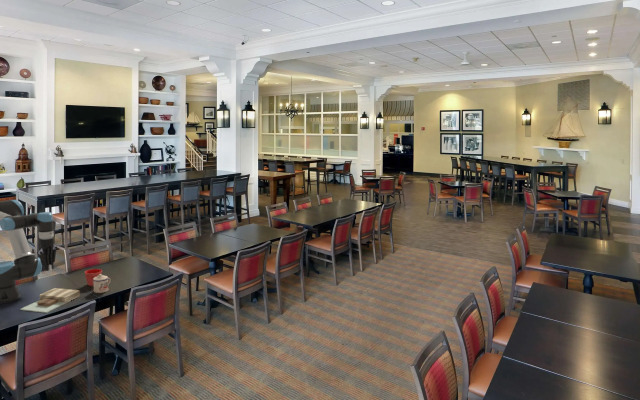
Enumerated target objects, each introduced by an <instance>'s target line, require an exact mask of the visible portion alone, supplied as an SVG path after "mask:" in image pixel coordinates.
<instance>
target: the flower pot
mask: <svg viewBox="0 0 640 400" xmlns="http://www.w3.org/2000/svg"><path fill="white" fill-rule="evenodd" d="M99 274H102V275H103V270H102V269H100V268H91V269H88V270H85V271H84V276H85V280H86V283H87V285H88V286H89V287H94V283H93V278H95V277H97V276H99ZM88 286H87V287H88Z"/></svg>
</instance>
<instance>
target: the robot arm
mask: <svg viewBox="0 0 640 400" xmlns="http://www.w3.org/2000/svg"><path fill="white" fill-rule="evenodd" d="M24 210H25V209H24V206H23V204H22V203H21V202H20V201H19V200H17V199H7V200H0V229H1V230H2V231H4V232H7V235H8V238H9V242H10V244H11V247H12V251H13V254H14V257H15V258H14V259H13V260H7V261H5V260H4V261H1V262H0V304H1V305H2V304H9V303H11V302H14V301H18V300H19V299H20V298H21V292H20V291H19V288H18V287H17V283H16V281H20V280H25V279H30V278H33V277H36V276H39V275H41V274H42V273H41V272H42V271H43V266H44V270H45V276H49V277H50V276H52V275H53V265H55V264H54V263H55V261H56V255H57V249H58V246H55V245H54V244H55V238H54V237H55V236H54V234H55V233H54V232H55V231H54V217H53V213H52V212H48V211H44V212H38V213H35V212H32V213H30V214H28V215H27V214H26V215H24V214H25V211H24ZM33 227H34V228H35V227H37V228H38V238H39V240H38V241H39V242H38V243H39V245H40V248H39V249H40V250H39V251H38V250H37V252H36V254H37V255H38V257H36V255H35V253H32V251H31V248H30V246H29V242H28V239H27V236H26V233H25V230H24V229H29V228H33Z"/></svg>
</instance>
